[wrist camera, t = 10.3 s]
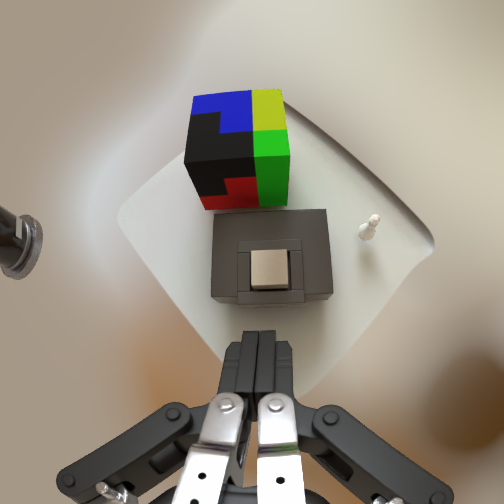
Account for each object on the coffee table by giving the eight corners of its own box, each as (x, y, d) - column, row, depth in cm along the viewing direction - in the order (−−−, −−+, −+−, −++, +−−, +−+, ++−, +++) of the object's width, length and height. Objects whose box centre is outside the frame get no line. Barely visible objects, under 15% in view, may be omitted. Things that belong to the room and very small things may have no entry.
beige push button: (253, 289, 27) (251, 285, 26) (253, 256, 28) (251, 250, 27) (288, 288, 27) (288, 284, 25) (286, 254, 28) (286, 249, 26)
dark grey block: (219, 312, 32) (205, 304, 27) (221, 228, 36) (209, 206, 30) (328, 309, 31) (337, 301, 26) (321, 224, 34) (327, 200, 29)
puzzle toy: (209, 147, 39) (193, 96, 30) (281, 142, 39) (281, 88, 29) (205, 210, 36) (183, 163, 27) (286, 205, 35) (290, 155, 26)
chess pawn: (365, 244, 33) (375, 231, 29) (353, 233, 33) (362, 218, 30) (378, 231, 33) (389, 217, 29) (366, 220, 34) (376, 204, 30)
